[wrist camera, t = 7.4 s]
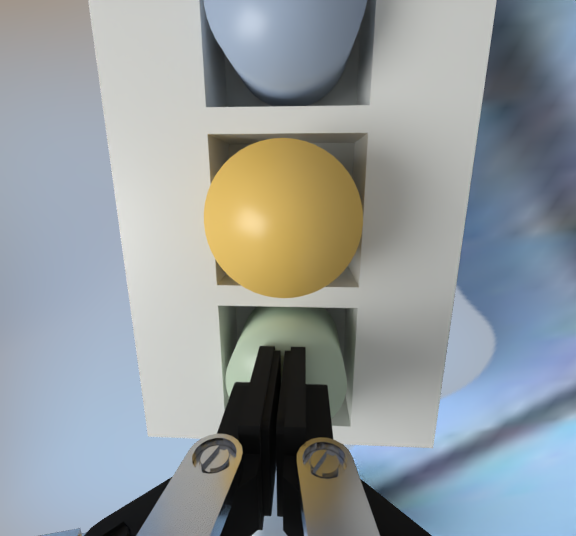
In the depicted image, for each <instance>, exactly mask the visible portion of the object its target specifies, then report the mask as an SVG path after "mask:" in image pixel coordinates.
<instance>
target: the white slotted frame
mask: <svg viewBox="0 0 576 536" xmlns="http://www.w3.org/2000/svg"><path fill="white" fill-rule="evenodd" d="M496 1H497V0H367V3H366V8H365V12H364V16H363V18H362V21H361V24H360V27H359V30H358V33H357V36H356V38H355V41H354V44H353V47H352V50H351V53H350V55H349V58H348V61H347V64H346V67H345V69H344V71H343V73H342V76H341V77H340V79H339V80H338V82H337V84H336V85H335V86H334V87H333V88H332V90H331V91H330V92H329V93H328V94H326V95H325V96H324V97H323V98H321V99H320V100H318V101H317V102H315V103H313V104H311V105H308V106H272V105H269V104H267V103H265V102H263V101H261V100H260V99H259V98H257V97H256V96H255V95H254V94H253V93H252V92H250V91H249V89H248V88H247V87H246V86H245V84H244V83H243V81H242V80H241V78H240V77H239V75H238V73H237V72H236V70H235V69H234V67H233V66H232V64H231V62H230V61H229V59H228V58H227V56H226V55H225V53H224V52H223V50H222V48H221V47H220V45H219V44H218V42H217V40H216V39H215V37H214V35H213V32H212V30H211V28H210V25H209V22H208V19H207V16H206V12H205V7H204V0H88V2H89V10H90V17H91V24H92V32H93V39H94V46H95V53H96V61H97V67H98V75H99V83H100V90H101V97H102V104H103V112H104V119H105V126H106V134H107V141H108V148H109V155H110V162H111V169H112V177H113V185H114V192H115V199H116V206H117V214H118V220H119V228H120V235H121V243H122V250H123V257H124V265H125V272H126V279H127V286H128V294H129V301H130V308H131V315H132V323H133V330H134V337H135V344H136V352H137V359H138V366H139V374H140V381H141V387H142V396H143V402H144V410H145V417H146V424H147V432H148V436H149V437H172V438H197V439H202V438H204V437H206V436H209V435H213V434H217V432H218V429H219V426H220V423H221V420H222V417H223V414H224V411H225V409H226V406H227V403H228V400H229V396H228V393H227V389H226V371H227V367H228V364H229V361H230V359H231V356H232V354H233V352H234V349H235V347H236V345H237V342H238V340H239V337H240V335H241V333H242V330H243V328H244V325H245V323H246V321H247V319H248V317H249V315H250V314H251V312H252V311H253V310H254V309H255V308H256V307H257V306H270V307H323V308H325V309H326V310H327V312H328V313H329V314H330V316H331V317H332V319H333V321H334V323H335V326H336V329H337V334H338V338H339V343H340V348H341V353H342V358H343V362H344V367H345V372H346V378H347V390H346V395H345V399H344V401H343V404H342V406H341V407H340V409H339V411H338V412H337V413H336V414H335V416H334V417H333V418H332V419H331V422H332V431H333V440H336V441H338V442H340V443H341V444H347V445H371V446H396V447H421V448H433V444H434V437H435V430H436V423H437V416H438V409H439V402H440V395H441V388H442V380H443V373H444V366H445V359H446V352H447V346H448V338H449V331H450V324H451V317H452V310H453V303H454V296H455V289H456V282H457V275H458V268H459V261H460V254H461V247H462V240H463V233H464V226H465V219H466V212H467V205H468V198H469V191H470V184H471V177H472V170H473V163H474V156H475V149H476V142H477V134H478V127H479V120H480V113H481V106H482V99H483V92H484V85H485V78H486V71H487V64H488V57H489V50H490V43H491V36H492V29H493V22H494V15H495V8H496ZM273 138H293V139H298V140H303V141H306V142H309V143H312V144H315V145H316V146H318V147H320V148H322V149H324V150H326V151H327V152H328V153H330V154H331V155H333V156H334V157H335V158H336V159H337V160H338V161H339V162H340V163H341V164H342V165H343V166H344V167H345V169H346V170H347V171H348V172H349V174H350V176H351V177H352V179H353V181H354V183H355V185H356V187H357V190H358V192H359V195H360V199H361V203H362V210H363V228H362V235H361V239H360V243H359V246H358V248H357V250H356V253H355V255H354V257H353V258H352V260H351V262H350V263H349V265H348V266H347V267H346V269H345V270H344V271H343V272H342V273H341V274H340V275H339V276H338V277H337V278H336V279H335V280H334V281H333V282H331V283H330V284H329V285H327V286H325V287H324V288H322V289H320V290H318V291H316V292H314V293H311V294H308V295H304V296H300V297H294V298H274V297H268V296H264V295H261V294H258V293H255V292H252V291H250V290H248V289H246V288H244V287H243V286H241V285H240V284H238V283H237V282H235V281H234V280H233V279H232V278H231V277H229V276H228V275H227V273H226V272H225V271H224V270H223V269H222V268H221V266H220V265H219V264H218V262H217V261H216V259H215V257H214V256H213V254H212V252H211V250H210V247H209V245H208V242H207V238H206V234H205V228H204V206H205V200H206V196H207V193H208V190H209V187H210V185H211V183H212V181H213V179H214V177H215V175H216V174H217V172H218V171H219V170H220V168H221V167H222V166H223V164H224V163H225V162H226V161H227V160H228V159H229V158H231V157H232V156H233V155H234V154H236V153H237V152H238V151H240V150H241V149H243V148H245V147H247V146H249V145H251V144H254V143H256V142H259V141H263V140H267V139H273Z"/></svg>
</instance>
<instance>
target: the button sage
mask: <svg viewBox="0 0 576 536" xmlns="http://www.w3.org/2000/svg"><path fill="white" fill-rule="evenodd" d="M260 346H275V350H280V352H281V379H282V371H283V362H284V354H285V351H291V347H306V384H324V385H327V386H328V394H329V404H330V413H331V419H332V418H333V417H334V416H335V414H336V413H337V412H338V411H339V409H340V407H341V406H342V404H343V401H344V399H345V395H346V390H347V378H346V372H345V367H344V362H343V358H342V353H341V348H340V343H339V338H338V334H337V329H336V326H335V323H334V321H333V319H332V317H331V316H330V314H329V313H328V312H327V310H326V309H325V308H323V307H270V306H257V307H256V308H255V309H254V310H253V311H252V312H251V314H250V315H249V317H248V319H247V321H246V323H245V325H244V328H243V330H242V333H241V335H240V337H239V340H238V342H237V345H236V347H235V349H234V352H233V354H232V356H231V359H230V361H229V364H228V367H227V371H226V389H227V393H228V396H229V397H230V394H231V391H232V388H233V385H234V383H235V382H250V380H251V376H252V372H253V369H254V365H255V361H256V357H257V354H258V350H259V347H260Z"/></svg>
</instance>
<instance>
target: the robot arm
mask: <svg viewBox="0 0 576 536" xmlns="http://www.w3.org/2000/svg"><path fill="white" fill-rule="evenodd" d="M275 475H277V517H283V531H284V532H285V533H286V535H287V536H432V535H430V534H429V533H428V532H427V531H425V530H424V529H423V528H421V527H420V526H419V525H418V524H416V523H415V522H414V521H413V520H411V519H410V518H409V517H408V516H406V515H405V514H404V513H403V512H401V511H400V510H399V509H398V508H396V507H395V506H394V505H393V504H391V503H390V502H389V501H388V500H386V499H385V498H384V497H383V496H381V495H380V494H379V493H377V492H376V491H375V490H374V489H372V488H371V487H370V486H369V485H367V484H366V483H365V482H364V481H362V480H361V479H360V477H359V474H358V471H357V469H356V466H355V463H354V460H353V457H352V455H351V453H350V452H349V450H348V449H347V448H346V447H345V446H344V445H343V444H341V443H340V442H338V441H336V440H333V431H332V422H331V413H330V404H329V394H328V386H327V385H324V384H306V347H291V351H285V354H284V362H283V371H282V379H281V352H280V350H275V346H260V347H259V350H258V354H257V357H256V361H255V365H254V369H253V372H252V376H251V380H250V382H235V383H234V385H233V388H232V391H231V394H230V397H229V400H228V403H227V406H226V409H225V411H224V414H223V417H222V420H221V423H220V426H219V429H218V432H217V434H213V435H209V436H206V437H204V438H202V439H200V440H199V441H197V442H196V443H195V444H194V445H193V446H192V447H191V448H190V450H189V451H188V453H187V454H186V456H185V457H184V459H183V461H182V462H181V464H180V466H179V467H178V469H177V471H176V472H175V474H174V475H173V477H171V478H170V479H168V480H166V481H165V482H163V483H161V484H160V485H158V486H157V487H155V488H153V489H152V490H150V491H148V492H147V493H145V494H144V495H142V496H140V497H139V498H137V499H135V500H134V501H132V502H130V503H129V504H127V505H125V506H124V507H122V508H121V509H119V510H117V511H116V512H114V513H112V514H111V515H109V516H107V517H106V518H104V519H102V520H101V521H100V522H98V523H97V524H96V525H94V526H93V527H92V528H91V529H90V530H89V531H88V532H87V533H82V534H81V529H80V528H78V529H74V530H68V531H62V532H57V533H51V534H45V535H40V536H252V535H253V534H254V533H255V532H256V531H257V530H263V523H264V516H271V514H272V505H273V495H274V485H275Z"/></svg>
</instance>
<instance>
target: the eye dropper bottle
mask: <svg viewBox="0 0 576 536" xmlns="http://www.w3.org/2000/svg"><path fill="white" fill-rule="evenodd" d="M252 536H287V535H286V533H285V532H284V531H283V517H277V475H275V485H274V495H273V505H272V514H271V516H264V523H263V530H257V531H256V532H255V533H254V534H253V535H252Z"/></svg>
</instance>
